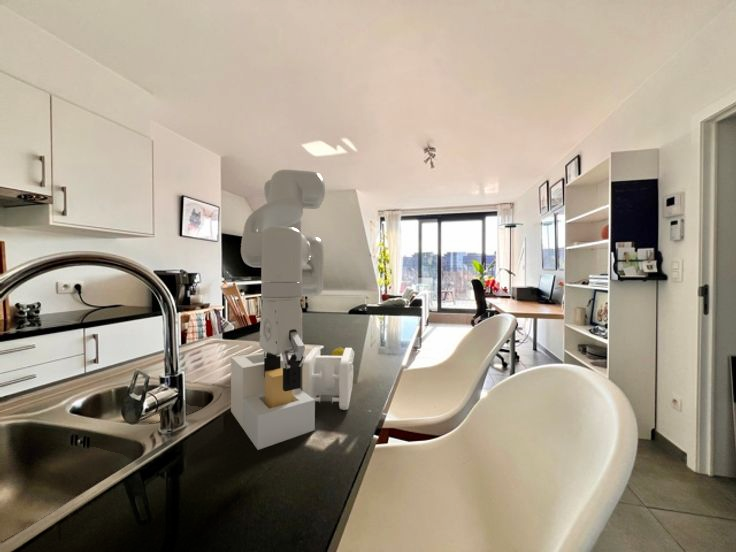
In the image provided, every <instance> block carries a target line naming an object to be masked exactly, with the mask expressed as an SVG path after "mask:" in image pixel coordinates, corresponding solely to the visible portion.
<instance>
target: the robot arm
mask: <svg viewBox="0 0 736 552" xmlns="http://www.w3.org/2000/svg"><path fill="white" fill-rule="evenodd" d="M263 186H264V188H263V189H264V196H265V200H266V203H265V204H263V205H262V206H260V207H259V208H257V209H256V210H254V211H253V212H252V213H250V215H249V216H248V217H247V219H246V221H245V223H244V226H243V231H242V238H241V243H240V246H241V247H240V255H241V258H242V260H243V262H244V264H245V265H247V266H249V267H252V268H261V273H260V275H261V283H260V284H261V291H260V292H261V293H260V294H261V296H260V299H261V300H262V305H261V311H260V323H259V324H260V327H259V347H260V348H261V349H262V350H263V352H264V357H265V358H264V378H265V371H270V370H275V369H280V362H281V356H279V355H280V354H281V353H282V357H283V361H284V365H285V368H283V390H284V391H290V390H294V389H301V388H302V387H301V386H302V380H301V379H302V376H301V375H302V369H301V368H302V367H303V362H304V359H305V358H306V357H307V355H304V353H305V350H306V346H305V344H304V342H303V310H302V309H303V308H302V306H301V300H302V299H303V297H318V296H320V295H321V294H323V290H324V272H325V271H324V263H325V260H324V259H325V258H324V257H325V254H324V252H325V251H324V245H323V241H322V240H321V239H320V237H317V236H312V235H308V236H307V235H304V234H302V221H301V218H302V216H303V213H304V209H305V210H306V209H308V210H309V209H310V210H317V209H320V207H321V205H322V204H323V201H324V200H325V196H326V195H325V194H326V185H325V181H324V179H323V177H322V175H321V174H320V173H318V172H316V171H309V170H299V169H297V170H296V169H280V170H278V171H275V172H274V173H273V175H272V176H271V178H270V179H269V180H267V181H266V182H265V183H264V185H263ZM307 265H308V266H309V268H306V267H305V268H304V266H307ZM289 355H290V356H291V358H290V360H289V358H288V356H289ZM266 357H267V358H266Z"/></svg>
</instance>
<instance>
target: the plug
mask: <svg viewBox="0 0 736 552" xmlns="http://www.w3.org/2000/svg"><path fill="white" fill-rule="evenodd" d="M292 402H293V390H290V391H284V390H283V368H280V369H275V370H270V371H265V405H266V406H267V407H268V408H269V409H270V408H274V407H277V406H281V405H284V404H288V403H292Z"/></svg>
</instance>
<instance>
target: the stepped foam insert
mask: <svg viewBox="0 0 736 552" xmlns="http://www.w3.org/2000/svg"><path fill="white" fill-rule="evenodd" d="M279 356H281V362H280V368H285V365H284V361H283V357H282V353H281V354H280V355H279ZM264 358H265V357H264V351H262V352H256V353H248V354H244V355H243V354H242V355H238V356H236V355H235V356H231V357H230V412H231V414H232V415H233V416H234V418H235V420H236V421H237V422H238V423H239V425H240V426H241V428H242V429H243V430H244V432H245V434H246V435H247V437H248V438H249V439H250V441H251V442H252V443H253V445H254V447H255V448H256V449H257V451H259V450H262V449H264V448H267V447H270V446H271V447H272V446H274V445H276V444H279V443H282V442H284V441H287V440H291V439H294V438H296V437H300V436H302V435H305V434H308V433H311V432H313V431H315V429H316V426H315V421H316V418H315V416H316V415H315V414H316V413H315V412H316V401H315V400H314V399H313V398H312V397H310V396H309V395H308V394H306V393H305V392H303V391H302V389H301V388H299V389H294V390H293V402H292V403H288V404H284V405H281V406H277V407H274V408H270V409H269V408H268V407H267V406H266V405H265V378H264ZM266 358H267V357H266ZM288 358H289V360H290V358H291V356H290V355H289V356H288Z"/></svg>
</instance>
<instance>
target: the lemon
mask: <svg viewBox="0 0 736 552" xmlns="http://www.w3.org/2000/svg"><path fill="white" fill-rule="evenodd" d="M344 350H345V348H342V347H341V346H338V347H337V348H335V349H334V350H332V352H331V354H330V356H342V355H343V353H344Z"/></svg>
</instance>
